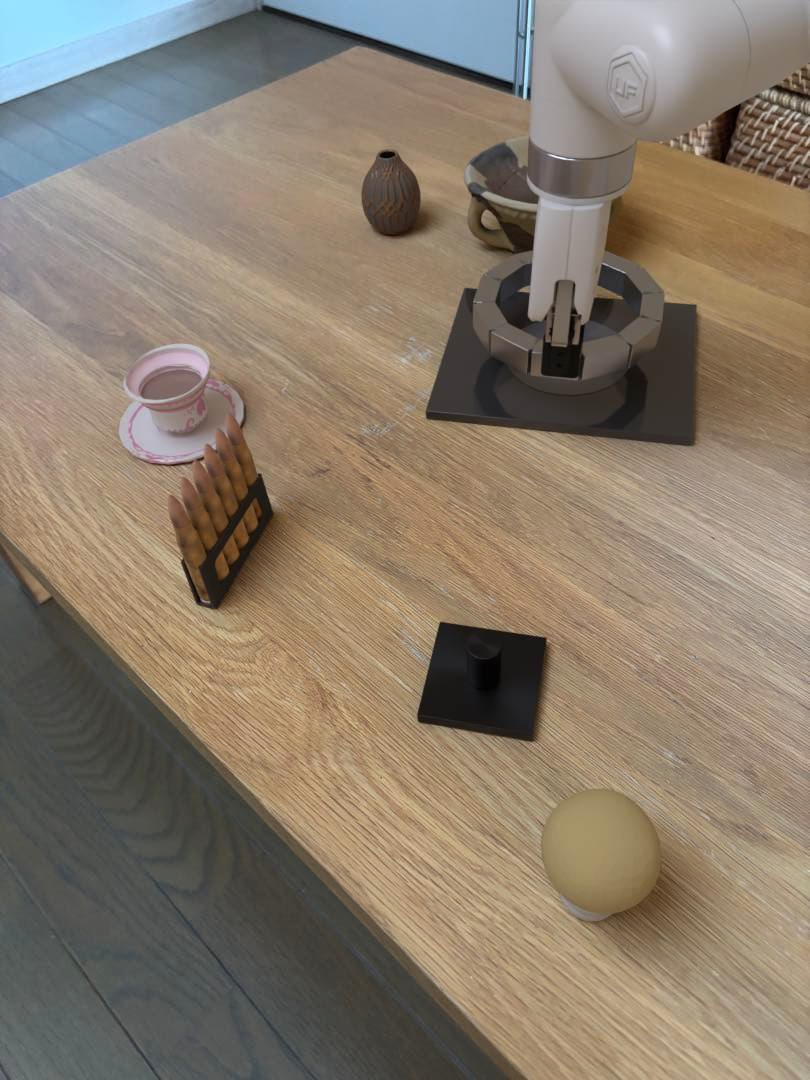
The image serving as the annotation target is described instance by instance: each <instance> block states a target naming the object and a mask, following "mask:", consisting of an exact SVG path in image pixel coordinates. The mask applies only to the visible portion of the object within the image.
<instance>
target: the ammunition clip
mask: <svg viewBox="0 0 810 1080" xmlns="http://www.w3.org/2000/svg"><path fill="white" fill-rule="evenodd" d="M226 431H227V436H228V438H227V436H226V435H225V433H224V432H223V431H222V430H221V429H220V428H217V429H216V432H215V444H216V451H215V450H214V449H213V448H212V447H211V446H210V445H209V444H205V447H204V457H203V458H204V459H203V461H204V465H205V467H204V465H203V464H202V463H201V462H200V461H199V460H198V459H196V460H193V461H192V478H193V482H194V485H193V484H192V482H191V481H190V480H189V479H188V478H187V477H185V476H182V477H181V478H180V483H179V489H180V495H181V499H182V502H183V505H182V503H181V502H180V500H179V499H178V498H177V497H176V496H174V494H168V496H167V511H168V514H169V518H170V522H171V524H172V528H173V531H174V536H175V541H176V544H177V546H178V549H179V552H180V553H181V556H182V559H181V561H180V565H181V567H182V569H183V572H184V575H185V577H186V580H187V583H188V585H189V589H190V592H191V593H192V596H193V599H194V602H195V604H196V605H197V606H201V607H204V608H209V609H213V610H218V608H219V607H220V605H221V603H222V602H223V600H224V598H225V597H226V595H227V593H228V592H229V590H230V588H231V586H232V585H233V583H234V582H235V580H236V578H237V576H238V575H239V573H240V572H241V570H242V568H243V567H244V565H245V564H246V562H247V560H248V559H249V556H250V555H251V553H252V552H253V549H255V546H256V545H257V543H258V542H259V540H260V539H261V537H262V535H263V534H264V532H265V530H266V528H267V527H268V525H269V523H270V522H271V520H272V518H273V517H274V509H273V506H272V504H271V501H270V497H269V495H268V491H267V488H266V485H265V481H264V477H263V475H262V474H261V473H258V472H257V469H256V468H257V467H256V465H255V461H254V458H253V454H252V452H251V450H250V448H249V446H248V444H247V441H246V439H245V436H244V434H243V430H242V428H241V426H239V424H238V422H237V420H236V419H235V417H234V416H233V415H232V414H231V413H227V416H226Z"/></svg>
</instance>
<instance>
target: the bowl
mask: <svg viewBox="0 0 810 1080" xmlns="http://www.w3.org/2000/svg"><path fill="white" fill-rule="evenodd" d="M528 143H529V134H528V135H524V136H520V137H514V138H511V139H507V140H504V141H502V142H500V143H497V144H494V145H492V146H490V147H488V148H487V149H485V150H483V151H481V152H479V153H478V154H477V155H476V156H474V157H472V158H471V160H470V161H469V162H467V164H466V167H465V169H464V173H463V182H464V185H465V187H466V189H467V190H468V194H470V196H471V198H470V203H469V206H468V210H467V214H466V215H467V218H466V219H467V227H468V229H469V231H470V233H471V234H472V235H473V236H474V237H475V238H476V239H478V240H479V241H481V242H483V243H485V244H488V245H490V246H493V247H497V248H502V249H507V250H510V251H511V252H513V253H514V254H518V253H523V252H528V251H532V250H533V247H534V235H535V224H536V215H537V207H538V200H539V196H538V195H537V194H535V193H534V192H533V191H532V190H531V189H530V188H529V186H528V183H527V165H528ZM623 206H624V200H623V194H622V195H621V196H619V197H617V198H615V199H613V200H612V202H611V210H610V217H609V224H608V230H610V229H611V228H612V227H613V226H614V225H615V224H616V223H617V221H618V220H619V218H620V216H621V214H622V211H623ZM485 211H488V212H490V213H491V214H492V215H493V216H494V217H495V218H496V220H497V223H498V225H499V228H498V229H491V228H489V227H486V226H485V225H484V223H483V221H482V216H483V215H484V212H485Z"/></svg>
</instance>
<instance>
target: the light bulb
mask: <svg viewBox="0 0 810 1080" xmlns="http://www.w3.org/2000/svg"><path fill="white" fill-rule="evenodd" d="M540 851H541V852H540V853H541V861H542V864H543V868H544V871H545V873H546V875H547V877H548V879H549V881H550V883H551V885H552V886H553V887H554V888H555V889H556V891H557V892H558V896H559V898H560V901H561V903H562V904H563V906H564V907H565V908H566V910H567V911H568V912H569V913H570V914H571V915H573V916H574V917H577V918H578V919H580V920H583V921H587V922H598V921H599V922H600V921H603V920H605V919H608V918H609V917H610V916H612V915H614V914H618V913H622V912H624V911H627V910H629V909H632V908H634V907H635V906H636V905H638V904H640V903H641V902H642V901H643V900H644V899H645V898H646V897H647V896H648V895H650V892H651V891H652V889H653V888H654V886H655V885H656V883H657V880H658V878H659V877H660V871H661V868H662V859H663V858H662V857H663V855H662V854H663V852H662V845H661V841H660V838H659V833H658V831H657V829H656V827H655V825H654V823H653V822H652V820H651V818H650V817H649V815H647V813H646V812H645V811H644V810H643V809H642V808H641V806H640V805H639V804H637V802H635V800H633V799H632V798H630V797H629V796H627V795H625V794H624V793H623V792H619V791H617V790H614V789H610V788H602V787H601V788H590V789H584V790H582V791H578V792H575V793H573V794H571V795H569V796H567V797H566V798H564V799H563V800H562V801H561V802H559V803H558V804H557V805H556V806H555V807H554V808H553V809H552V811H551V812H550V813H549V815H548V817H547V818H546V820H545V823H544V825H543V829H542V832H541V838H540Z"/></svg>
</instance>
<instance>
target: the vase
mask: <svg viewBox="0 0 810 1080" xmlns="http://www.w3.org/2000/svg"><path fill="white" fill-rule="evenodd" d="M360 196H361V197H360V199H361V205H362V206H361V207H362V211H363V213H364V215H365V218H366V220H367V221H368V224H370V226H371V227H372V228H374V229H375V230H376V231H378V232H379V233H381V234H385V235H389V236H391V235H399V234H402V233H405V232H406V231H408V230H409V229H410V228H411V227H412V226H413V225H414V224H415V222H416V220H417V219H418V217H419V214H420V210H421V205H422V203H421V202H422V197H421V189H420V184H419V181H418V178H417V177H416V174H415V173H414V172H413V170H412V169H411V168H410V166H409V165H407V163H406V162H404V160H403V159H402V157H401V156H400V154H399V153H398V151H397V150H395V149H391V148H390V149H389V148H388V149H383V150H380V151H379V152H377V154H376V157H375V159H374V162H373V164H372V165H371V167H369V169H368V171H367V172H366V174H365V177H364V179H363V182H362V186H361V195H360Z"/></svg>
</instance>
